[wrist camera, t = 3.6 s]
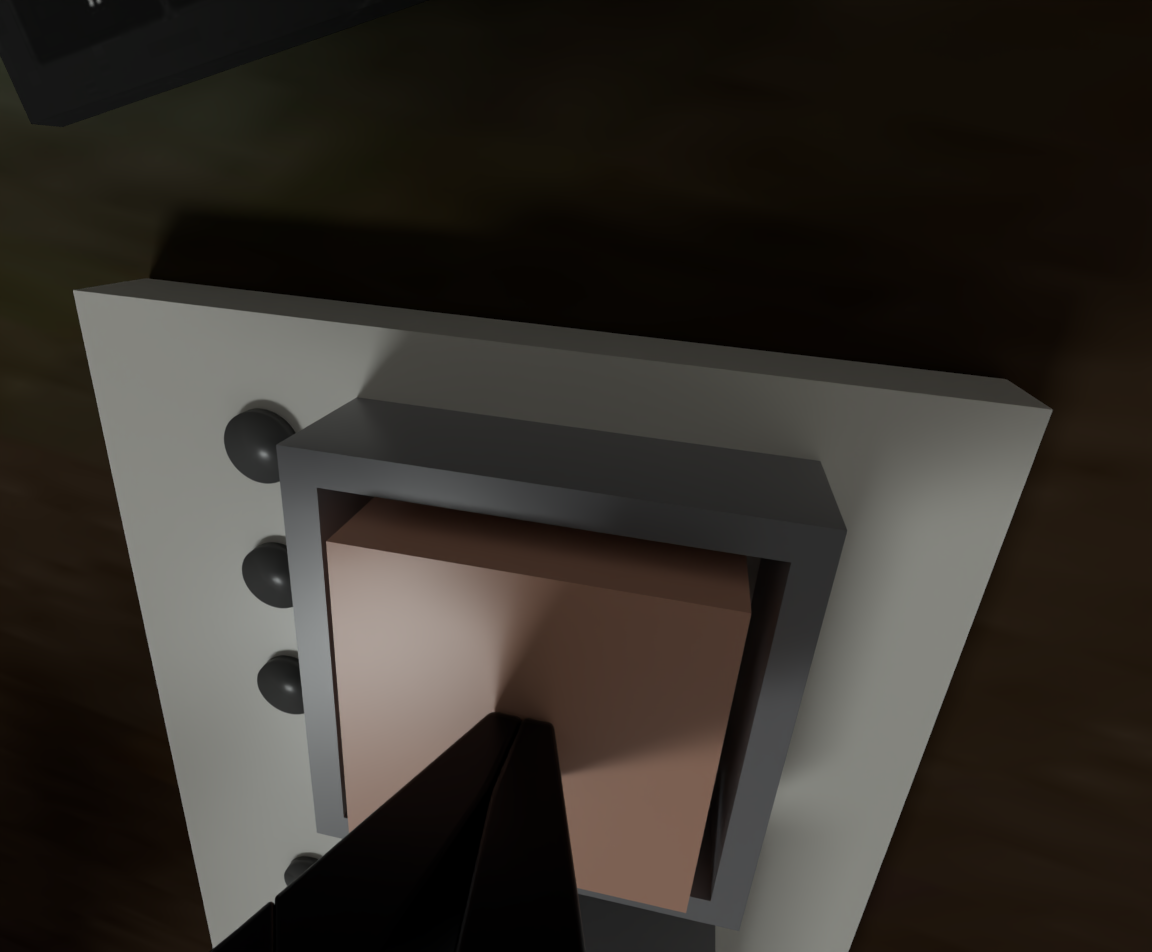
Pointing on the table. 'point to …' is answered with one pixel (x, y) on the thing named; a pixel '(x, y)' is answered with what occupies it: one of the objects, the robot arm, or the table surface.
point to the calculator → (151, 45)
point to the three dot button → (544, 671)
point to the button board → (563, 498)
